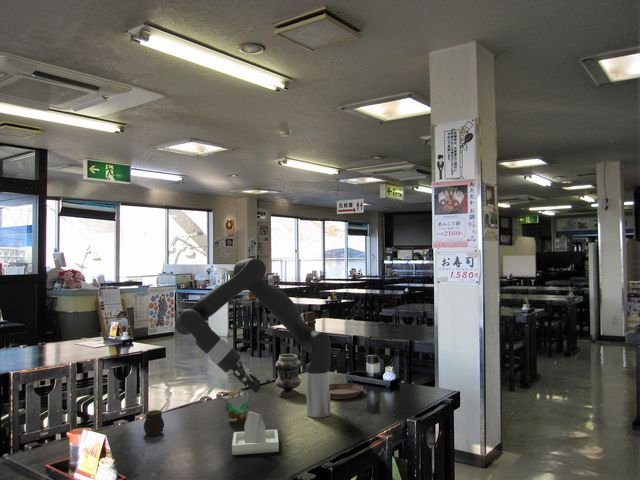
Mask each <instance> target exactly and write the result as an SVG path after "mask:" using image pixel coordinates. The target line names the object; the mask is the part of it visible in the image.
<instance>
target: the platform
mask: <svg viewBox="0 0 640 480" xmlns="http://www.w3.org/2000/svg"><path fill="white" fill-rule="evenodd" d="M238 390H239V389H237V390H235V391H230V392H228V395H225V396H223V397H222V399H224V400H225V408H227V409H228V403H227V399H228V397H229V398H230V397H232V396H233V395H235V394H237V393H238Z"/></svg>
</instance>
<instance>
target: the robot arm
mask: <svg viewBox="0 0 640 480" xmlns="http://www.w3.org/2000/svg"><path fill="white" fill-rule="evenodd" d="M266 268H267V267H266V265H265V262H263V260H262V259H260V258H256V257H252V258H247V259H243V260H240V261H238V262H236V264H235V265H234V267H233V274H234V275H233V277H231V278H230V279H227V280H226V281H224V282H223V283H221V284H220V285H218V286H216V287H214V288H213V289H211V290H210V291H209V292H207V293H205V294H204V296H202V297H201V298H200V299H198V300H197V301H196V303H195V304H194V305H193V306H192V307H190V308H187V309H184V310H183V311H182V312H181V313H180V314H179V316H178V317H177V318H176V320H175V322H174V328H175V330H176V332H177V333H178V334H180V335H182V336H183V335H185V336H187V335H190V334H191V335H192V336H193V338H194V339H195V344H196V346H197V347H198V348H199V349H200V350H201V351H202V352H203V353H205V354H206V355H207V357H208V358H209V359H210V360H211V361H212V362H213V363H214V364H215V365H216V366H217V367H218V368H219V369H221V370H222V371H223V372H224V373H229V372H230V371H232V372H233V373H232V374H233V376H234V377H235V378H237V380H238V381H239V382H241V383H242V384H243V386H244V387H249V389H251V390H252V391H253V392H254V393H256V394H257V393H258V392H259V391H260V390H261V387H260V384H261V380H259V379H258V378H257V377H256V376H255V375H254V373H253V372H252V370H251V369H250V368H248V367H247V366H246V365H245V364H244V363H243V362H242V361H241V360H240V359H241V357H242V355H241V354H240V353H239V352H238V351H236V349H235V348H233V346H231V345H230V344H229V343H228V342H227V341H226V340H224V339H222V337H220V336H219V335H218V334H217V333H216V332H215V331H214V330H213V329H212V328H211V326H210V324H208V322H207V321H206V320H208V318H210V317H212V316H213V315H214V314H216V313H217V312H218V311H219V310H221V308H223V307H224V306H225V305H226V304H228V302H230V301H231V300H232V299H234V298H235V297H237V296H238V295H239V294H240V293H242V292H244V291H245V290H248V291H249V292H250V293H251V294H252V295H253V296H254V297H255V298H257V300H258V301H259V302H260V303H261V304H262V305H263V306H264V307H265V308H266V309H267V310H268V311H269V312H270V313H271V315H272V316H273V317H274V318H275V319H276V320H277V321H278V322H279V323H280V324H281V325H282V326H283V327H285V329H286V331H289V333H291V335H292V336H293V337H294V338H295V339H296V342H298V344H299V345H300V346H301V348H302V349H303V350H304V351H305V352H306V353H308V354H311V360H310V362H309V363H306V365H305V379H306V380H305V382H306V383H305V384H306V386H305V387H306V388H305V389H306V416H308V417H309V418H310V417H311V418H318V419H319V418H325V417H330V416H331V415H332V413H331V411H332V409H331V408H332V407H331V398H330V391H329V384H330V365H331V359H332V358H331V356H332V355H331V354H332V353H331V351H332V347H331V346H332V345H331V344H332V343H331V339H330V336H329V335H328V334H327V333H326V332H323V331H317V330H314V329H312V327H310V325H308V324H307V323H306V322H305V320H304V319H303V318H302V316H301V312H300V310H299V307H298V306H297V305H296V303H295V302H294V301H293V300H292V298H290V297H289V296H288V294H286V293H284V292H283V291H281V290H279V289H278V288H276V287H275V286H273V285H270V284H269V283H267V281H265V280H264V277H265V275H266V273H267V272H266V271H267V269H266Z"/></svg>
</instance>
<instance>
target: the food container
mask: <svg viewBox="0 0 640 480" xmlns="http://www.w3.org/2000/svg"><path fill="white" fill-rule="evenodd" d="M237 390H238V393H237V394H235V395H233V396H232V397H230V398H229V397H228V399H227V403H228V407H227V409H228V410H227V411H228V423H229V424H236V423H241V422H244V421H246V419H247V408H248V407H247V406H248V405H247V404H248V400H249V398H250V397H249V393H248V392H247V391H245V390H241V389H237Z"/></svg>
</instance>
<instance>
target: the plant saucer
mask: <svg viewBox="0 0 640 480" xmlns="http://www.w3.org/2000/svg"><path fill="white" fill-rule="evenodd" d="M363 390H364V387H363V386H362V385H359V384H356V383H355V384H354V383H341V382H340V383H329V391H330V399H332V400H333V399H334V400H347V399H352V398H355V397H358V396H360V394H361V393H362V392H363Z"/></svg>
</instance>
